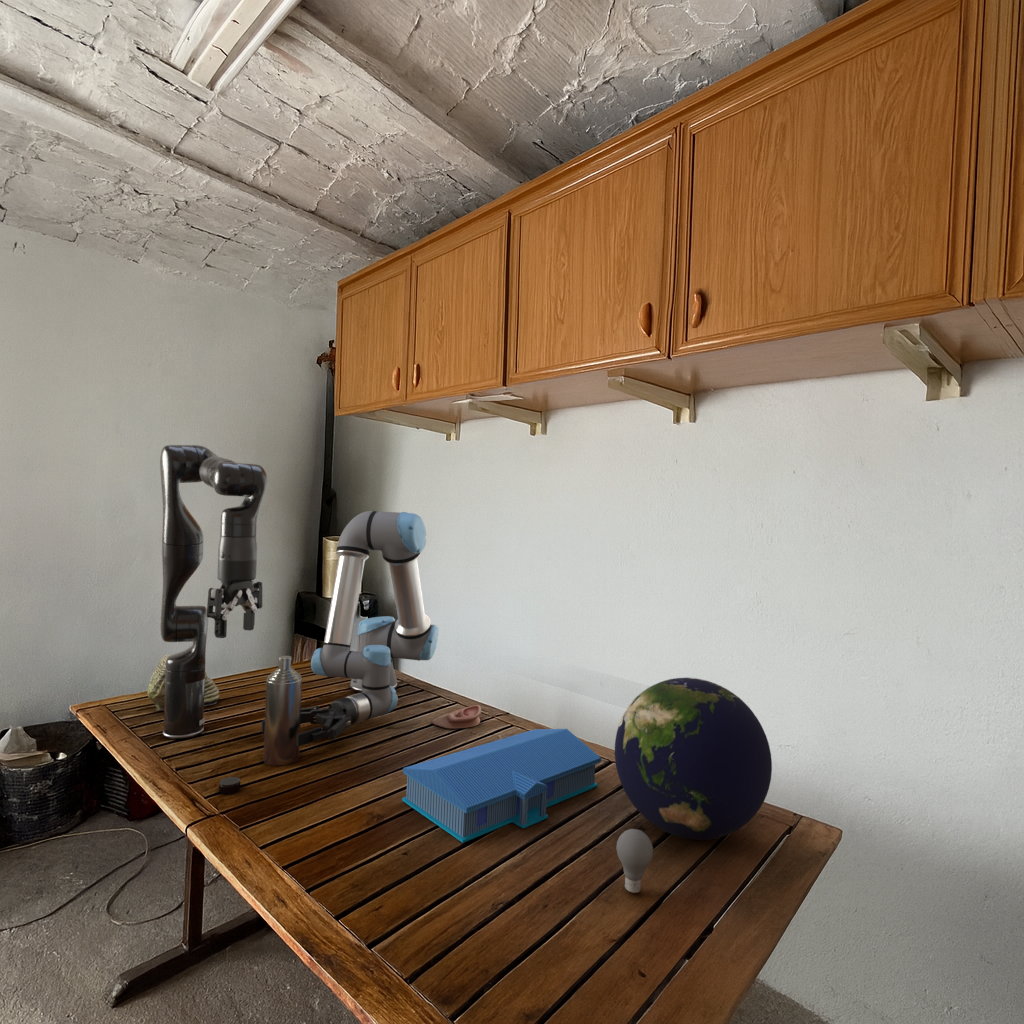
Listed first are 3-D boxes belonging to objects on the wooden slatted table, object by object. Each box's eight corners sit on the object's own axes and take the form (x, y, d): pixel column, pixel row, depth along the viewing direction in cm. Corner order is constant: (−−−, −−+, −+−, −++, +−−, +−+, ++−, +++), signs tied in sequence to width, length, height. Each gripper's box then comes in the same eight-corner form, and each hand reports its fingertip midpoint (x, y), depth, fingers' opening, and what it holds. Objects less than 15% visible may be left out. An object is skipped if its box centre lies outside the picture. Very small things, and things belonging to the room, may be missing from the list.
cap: (214, 792, 134) (214, 783, 134) (228, 784, 138) (228, 775, 137) (230, 795, 132) (231, 786, 132) (244, 787, 136) (244, 778, 136)
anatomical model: (428, 712, 177) (441, 699, 188) (427, 726, 177) (440, 713, 188) (474, 717, 174) (484, 704, 186) (473, 731, 174) (484, 718, 186)
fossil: (144, 707, 182) (145, 655, 182) (212, 696, 194) (213, 647, 194) (151, 716, 175) (153, 662, 175) (221, 703, 188) (223, 653, 188)
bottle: (265, 753, 155) (268, 653, 154) (299, 751, 157) (303, 652, 156) (261, 766, 147) (265, 661, 146) (298, 764, 149) (302, 661, 149)
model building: (473, 850, 116) (475, 796, 115) (400, 799, 134) (402, 752, 134) (609, 791, 142) (611, 746, 142) (533, 755, 160) (535, 716, 160)
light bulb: (610, 879, 108) (613, 822, 108) (644, 879, 109) (647, 822, 109) (619, 902, 102) (622, 840, 102) (655, 901, 103) (658, 840, 103)
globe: (594, 848, 118) (602, 688, 118) (628, 784, 146) (634, 654, 145) (767, 892, 107) (776, 715, 106) (767, 813, 134) (775, 673, 134)
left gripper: (229, 561, 126) (226, 642, 126) (274, 556, 140) (271, 629, 140) (197, 558, 128) (195, 638, 128) (245, 553, 142) (242, 625, 142)
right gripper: (381, 736, 162) (312, 763, 144) (317, 714, 176) (248, 736, 158) (382, 707, 162) (313, 730, 144) (318, 687, 176) (249, 706, 158)
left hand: (235, 633), depth 134 cm, fingers open, 8 cm apart
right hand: (279, 733), depth 151 cm, fingers open, 13 cm apart
